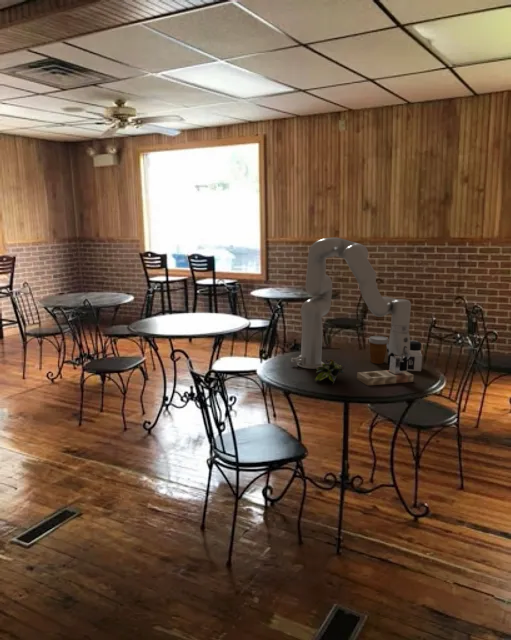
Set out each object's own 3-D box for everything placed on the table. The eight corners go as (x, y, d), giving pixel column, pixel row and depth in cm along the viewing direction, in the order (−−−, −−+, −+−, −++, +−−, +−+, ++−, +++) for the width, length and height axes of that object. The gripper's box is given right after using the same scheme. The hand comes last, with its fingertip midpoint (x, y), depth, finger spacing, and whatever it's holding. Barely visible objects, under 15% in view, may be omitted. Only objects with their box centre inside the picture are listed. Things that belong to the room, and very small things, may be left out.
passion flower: (328, 391, 230) (343, 367, 231) (337, 394, 219) (352, 370, 220) (308, 377, 228) (323, 353, 229) (315, 380, 217) (331, 355, 219)
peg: (394, 381, 228) (396, 358, 226) (388, 378, 232) (390, 356, 230) (403, 380, 229) (405, 358, 227) (397, 377, 233) (399, 355, 231)
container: (421, 371, 243) (423, 344, 240) (403, 370, 244) (405, 342, 242) (419, 367, 250) (421, 340, 248) (402, 365, 252) (404, 339, 249)
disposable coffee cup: (363, 362, 256) (365, 338, 254) (371, 358, 264) (373, 334, 262) (382, 365, 251) (384, 341, 249) (390, 361, 259) (391, 337, 256)
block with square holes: (367, 385, 221) (367, 378, 220) (356, 379, 229) (357, 372, 229) (413, 381, 228) (413, 374, 227) (401, 375, 236) (401, 369, 236)
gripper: (419, 332, 219) (416, 372, 222) (396, 324, 235) (393, 361, 238) (403, 333, 217) (400, 374, 220) (381, 324, 233) (378, 362, 236)
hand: (396, 367), depth 229 cm, fingers open, 8 cm apart
